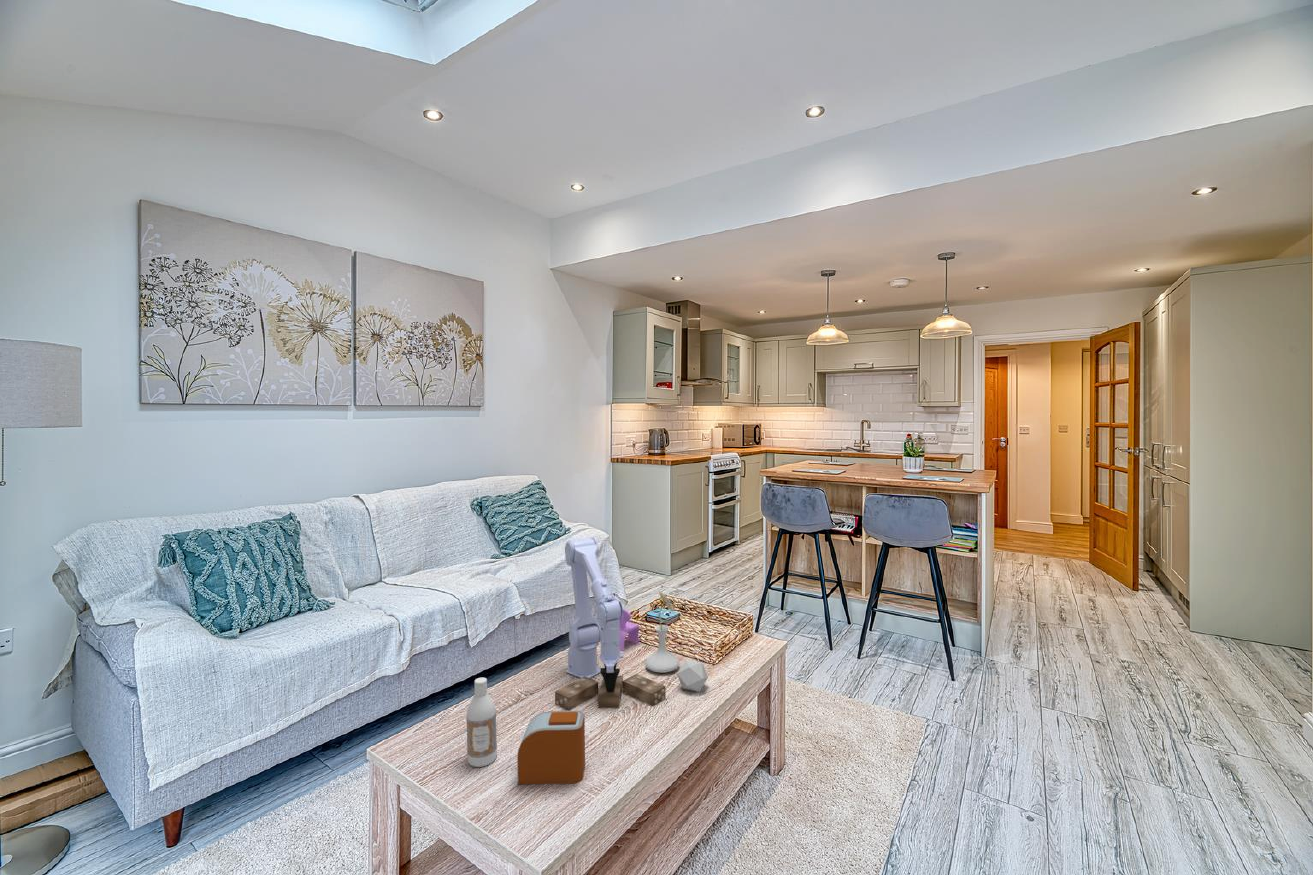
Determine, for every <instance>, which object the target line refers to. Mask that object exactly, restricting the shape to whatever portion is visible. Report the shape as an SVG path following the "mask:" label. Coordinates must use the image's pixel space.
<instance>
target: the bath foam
mask: <svg viewBox="0 0 1313 875" xmlns="http://www.w3.org/2000/svg"><path fill="white" fill-rule="evenodd" d="M473 682H474V696H473V698H472V699H471V700H470V702H469V704H468V706H467V710H466V750H467V752H466V753H467V754H466V755H467V763H468V764H469V765H470V766H471V767H473V768H474V767H475V768H481V767H486V766H488V765H490V764H492V763H493V762H494V761H495V760H496V758H497V755H498V754H497V753H498V744H497V734H498V733H497V710H496V709H497V708H496V704H495V701H494V700H493V698H492V697H491V696H490V694H488V679H487V678H486V677H478V678H475V680H474V681H473Z"/></svg>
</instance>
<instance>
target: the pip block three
mask: <svg viewBox="0 0 1313 875" xmlns="http://www.w3.org/2000/svg"><path fill="white" fill-rule="evenodd" d="M599 687H600V686H599V681H597V680H595V679H593V678H588V677H585V676H584V677H582V678H580V677H579V678H578V679H576V680H575V681H573V682H571V683H569V684H566V685H565V686H563V687H561V688H559V689H557V690H555V691H554V704H555V705H556V706H558V707H561V708H563V709H565V710H566V711H572V709H575V708H576V707H578V706H580V705H581V704H584V703H585V702H587V701H588V700H590V699H592V698H594V697H595V696H598V694H599V690H600V688H599Z"/></svg>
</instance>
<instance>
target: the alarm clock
mask: <svg viewBox="0 0 1313 875" xmlns="http://www.w3.org/2000/svg"><path fill="white" fill-rule="evenodd" d="M585 727H586V725H585V713H584V712H583V711H582V710H548V711H543V712H540V713H539V714H537V715H535V716H534V717H533V718H532V719H530V721H529V722H528V723H527V726H526V729H525V730H524V734H523V737H522V739H521V742H520V745H519V747H518V750H517V758H516V759H517V785H546V784H547V785H549V784H550V785H551V784H554V785H555V784H559V785H560V784H576V783H579V782H581V781H582V780H583V778H584V774H585V768H586V741H585V740H586V739H585V737H586V736H585V735H586V734H585V731H586V728H585Z"/></svg>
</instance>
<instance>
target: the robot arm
mask: <svg viewBox="0 0 1313 875" xmlns="http://www.w3.org/2000/svg"><path fill="white" fill-rule="evenodd" d="M599 550H600V549H599V543H598V540H597V538H595V536H594V537H593V536H592V537H588V538H587V537H586V538H580V539H573V540H567V541H566V543H565V545H564V554H565V562H566V566H569V567H570V569H571V577H572V586H573V588H572V589H573V595H574V605H575V613H576V616H575V617H574V619H573V620H572V621H571V622H570V623H569V626H568V627H569V628H568V629H569V630H568V631H569V632H568V640H569V644H570V645H569V648H568V649H567V669H566V671H565V672H566V673H567V674H569V675H573V676H574V677H577V678H579V679H580V678H582V677H584V676H585V677H588V678H590V679H592V678H594V676H596V675H598V674H601V676H602V679H603V678H604V681H605V686H606V691H607V692H614V690H615V684H616V679H617V676H619V674H620V673H621V668H617V665H618V662H619V661H620V659H624V656H625V654H624V652H621V653H620V629H619V618H622V616H623V604H622V601H621V600H620V599H619V598H618V597H617V596H615V595H614V592H613V589H612V588H611V584H610V582H609V580H608V579H606V578H604V577H603V573H602V570H601V567H600V563H599V559H598V556H599ZM588 576H589V578H590V581H591V582H592V583H591V586H590V590H591V592H592V595H593V597H594V600H595V603H596V605H597V606H596V615H597V616H594V615H593V614H592V608H591V600H590V598H591V597H590V591H589V582H588ZM599 643H600V644H599ZM599 645H600V654H599V659H600V661H601V662H602V663H603V667H598V652H597V651H598V649H597V648H598V646H599Z"/></svg>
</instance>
